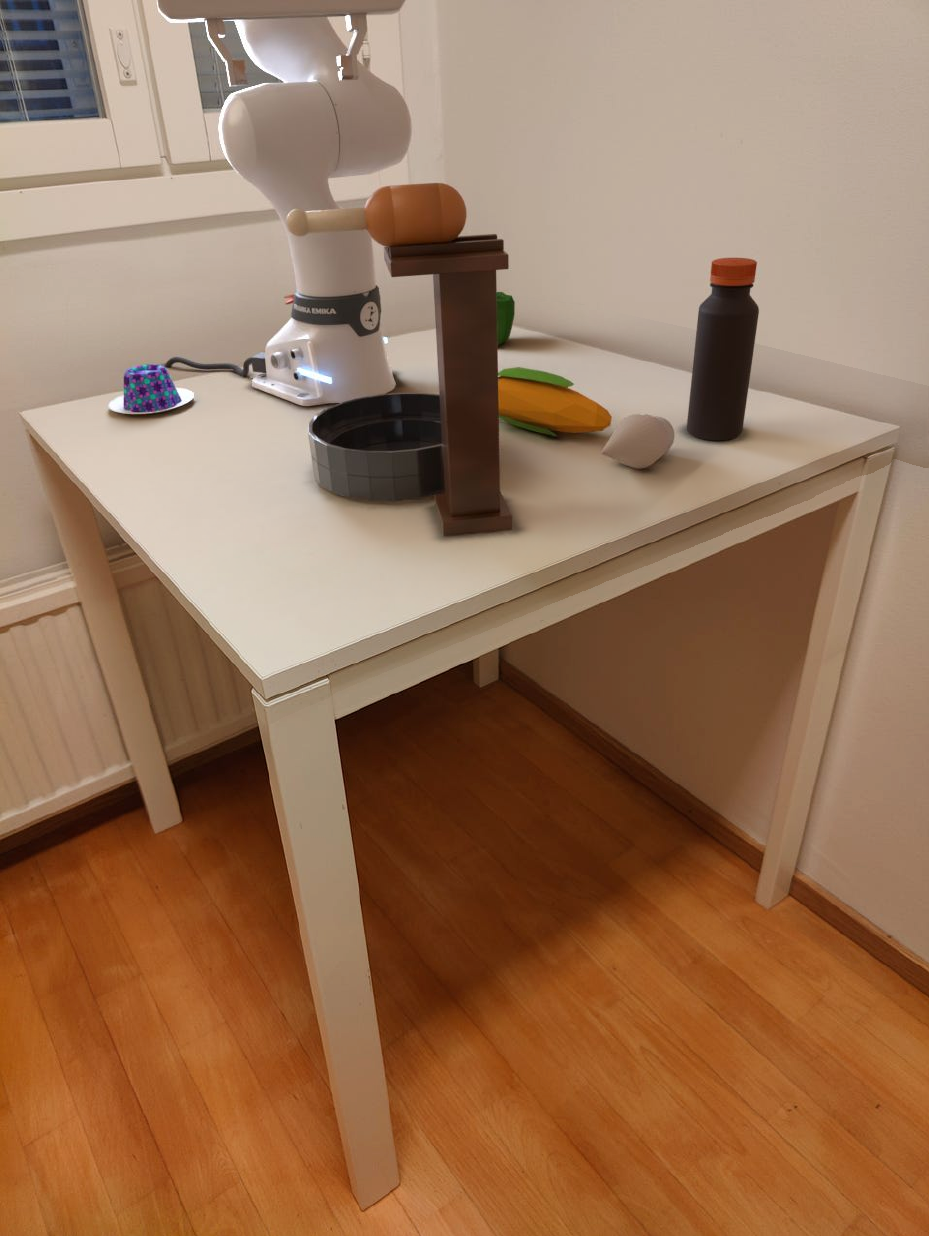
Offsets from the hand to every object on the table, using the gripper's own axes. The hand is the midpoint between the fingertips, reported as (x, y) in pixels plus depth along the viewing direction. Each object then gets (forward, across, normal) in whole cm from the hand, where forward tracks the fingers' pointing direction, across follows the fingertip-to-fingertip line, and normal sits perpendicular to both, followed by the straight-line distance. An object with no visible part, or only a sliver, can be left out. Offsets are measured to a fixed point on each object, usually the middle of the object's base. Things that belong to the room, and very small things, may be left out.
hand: (294, 82), depth 74 cm
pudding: (+38, +22, -44) cm, 62 cm away
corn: (+39, -28, -13) cm, 50 cm away
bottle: (+39, -47, -5) cm, 61 cm away
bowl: (+39, -7, -7) cm, 40 cm away
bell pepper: (+38, -33, -56) cm, 76 cm away
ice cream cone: (+39, -32, +3) cm, 51 cm away
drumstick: (+13, -5, +8) cm, 16 cm away
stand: (+39, -10, +8) cm, 41 cm away
